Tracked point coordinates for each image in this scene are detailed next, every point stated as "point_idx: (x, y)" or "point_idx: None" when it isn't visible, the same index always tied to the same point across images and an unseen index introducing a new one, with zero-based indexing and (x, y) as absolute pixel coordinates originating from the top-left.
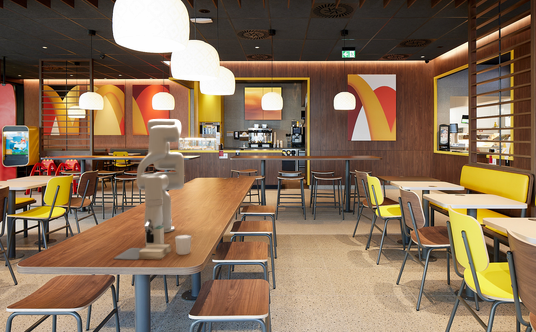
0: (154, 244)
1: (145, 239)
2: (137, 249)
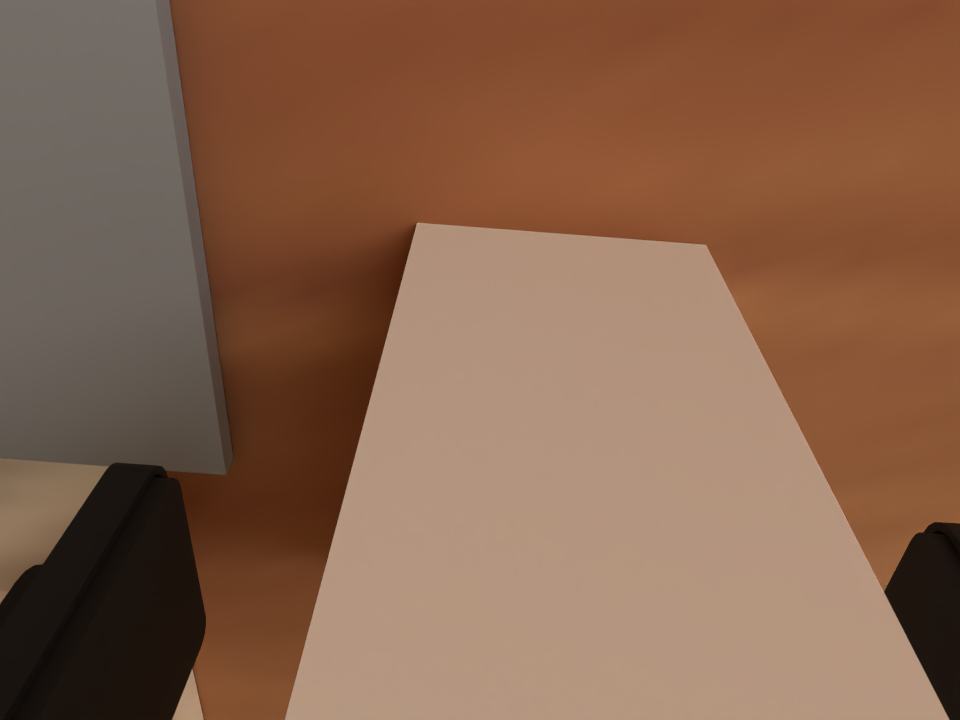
0: None
1: (379, 364)
2: (6, 104)
